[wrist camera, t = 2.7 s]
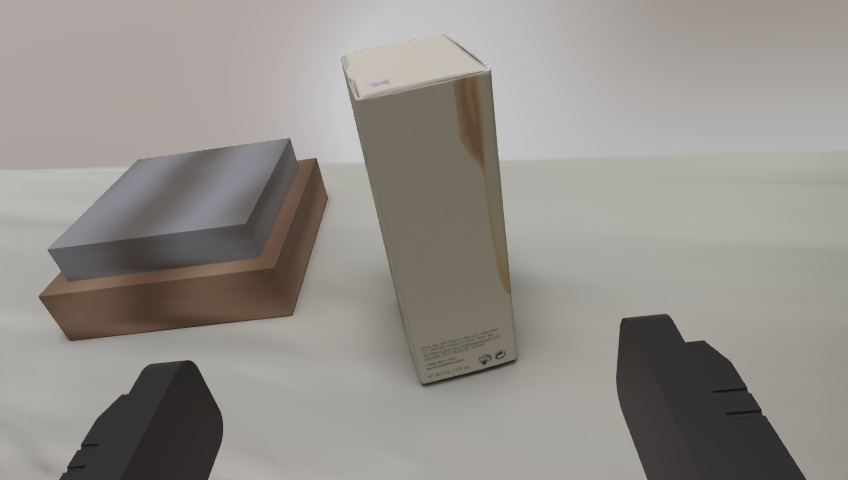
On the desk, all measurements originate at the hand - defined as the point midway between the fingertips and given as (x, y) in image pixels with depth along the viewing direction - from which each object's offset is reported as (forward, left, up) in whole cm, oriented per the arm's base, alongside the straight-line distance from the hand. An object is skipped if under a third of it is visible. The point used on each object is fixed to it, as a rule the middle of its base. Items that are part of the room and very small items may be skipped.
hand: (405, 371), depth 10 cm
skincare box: (0, -11, -10) cm, 15 cm away
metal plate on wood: (+14, -19, -9) cm, 26 cm away
